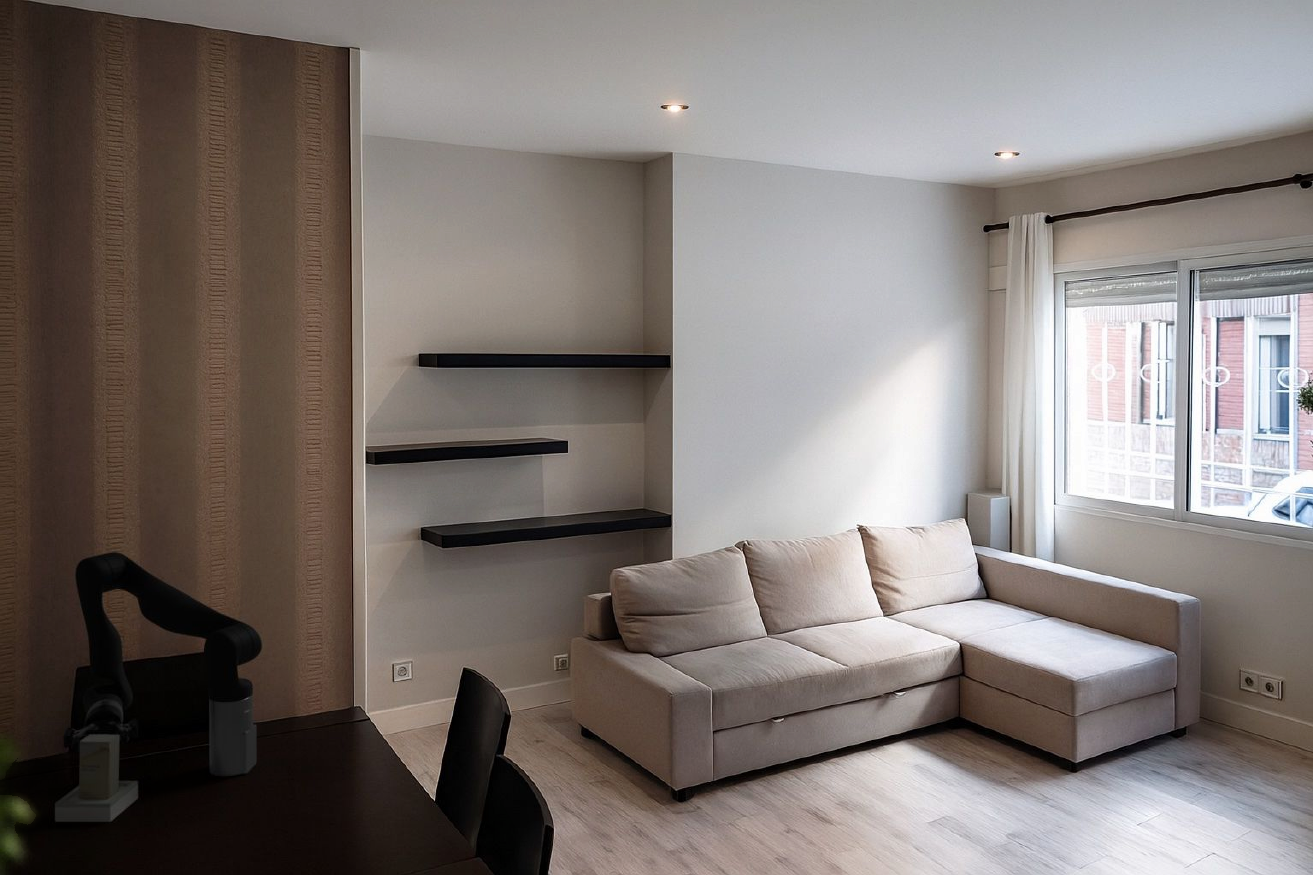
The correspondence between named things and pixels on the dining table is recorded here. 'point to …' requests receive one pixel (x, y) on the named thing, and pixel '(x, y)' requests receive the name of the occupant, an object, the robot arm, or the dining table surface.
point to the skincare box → (99, 766)
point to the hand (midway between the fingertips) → (99, 744)
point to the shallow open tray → (96, 805)
